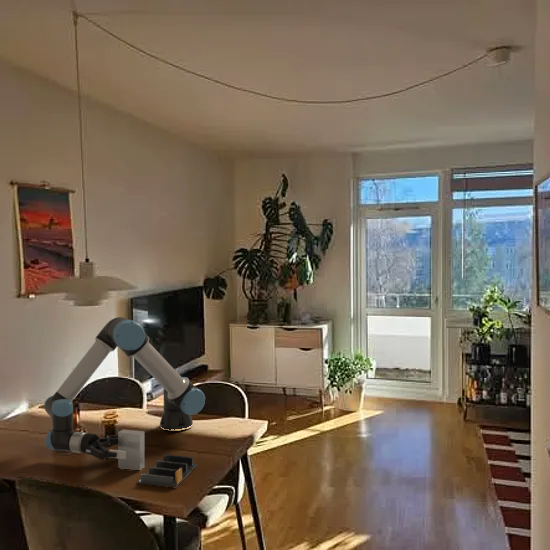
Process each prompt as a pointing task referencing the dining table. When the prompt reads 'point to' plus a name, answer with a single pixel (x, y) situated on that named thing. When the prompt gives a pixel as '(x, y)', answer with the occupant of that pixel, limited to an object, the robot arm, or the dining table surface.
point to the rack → (168, 471)
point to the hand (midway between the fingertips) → (134, 448)
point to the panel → (131, 449)
